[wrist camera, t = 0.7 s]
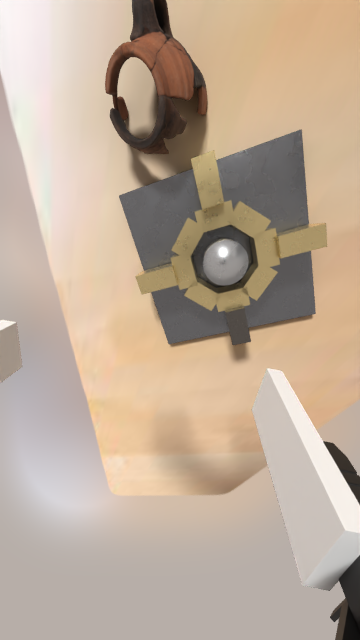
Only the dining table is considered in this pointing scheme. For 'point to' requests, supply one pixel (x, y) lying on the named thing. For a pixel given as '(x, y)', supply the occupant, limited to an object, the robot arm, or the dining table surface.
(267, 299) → the flange plate
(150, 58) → the pottery mug
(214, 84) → the dining table surface
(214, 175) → the ring nut
